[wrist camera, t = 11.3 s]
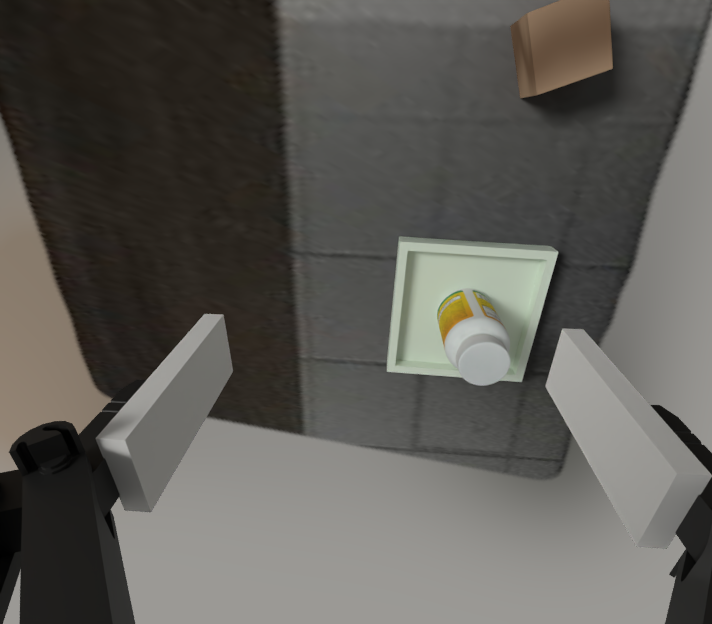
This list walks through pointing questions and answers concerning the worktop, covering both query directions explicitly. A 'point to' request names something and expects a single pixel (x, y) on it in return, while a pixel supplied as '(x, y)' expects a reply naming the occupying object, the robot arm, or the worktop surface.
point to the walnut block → (561, 44)
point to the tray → (456, 271)
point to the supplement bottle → (474, 336)
